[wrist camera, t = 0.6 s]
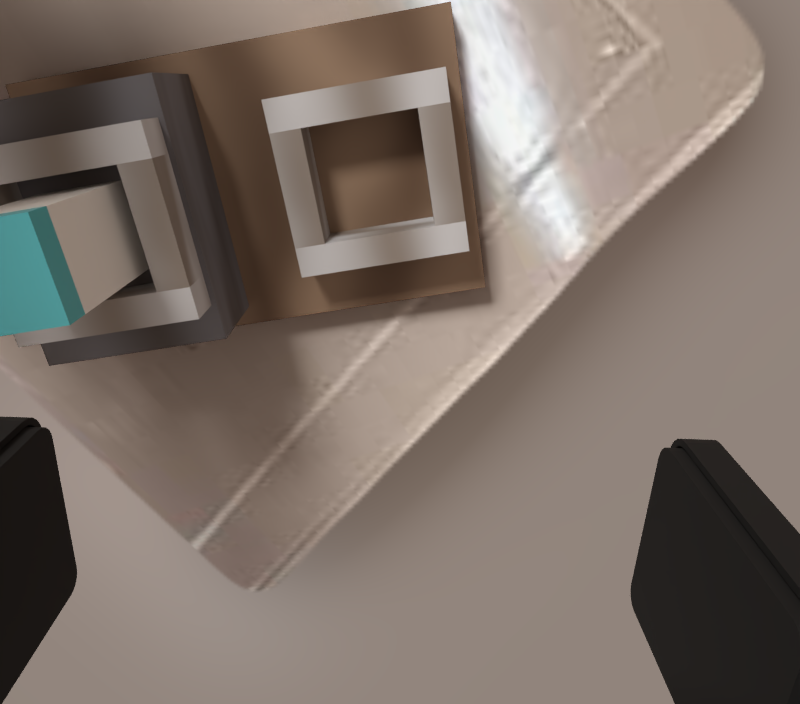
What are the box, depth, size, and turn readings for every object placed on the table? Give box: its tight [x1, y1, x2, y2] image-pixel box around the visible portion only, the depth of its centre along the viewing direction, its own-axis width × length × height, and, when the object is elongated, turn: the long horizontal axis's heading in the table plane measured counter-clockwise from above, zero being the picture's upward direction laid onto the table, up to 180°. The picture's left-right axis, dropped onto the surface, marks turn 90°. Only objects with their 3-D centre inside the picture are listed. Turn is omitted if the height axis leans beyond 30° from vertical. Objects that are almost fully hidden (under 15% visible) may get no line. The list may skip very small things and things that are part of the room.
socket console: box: [0, 2, 485, 366], centre depth 32 cm, size 22×14×8 cm, turn 99°
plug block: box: [0, 180, 149, 336], centre depth 26 cm, size 4×4×8 cm
